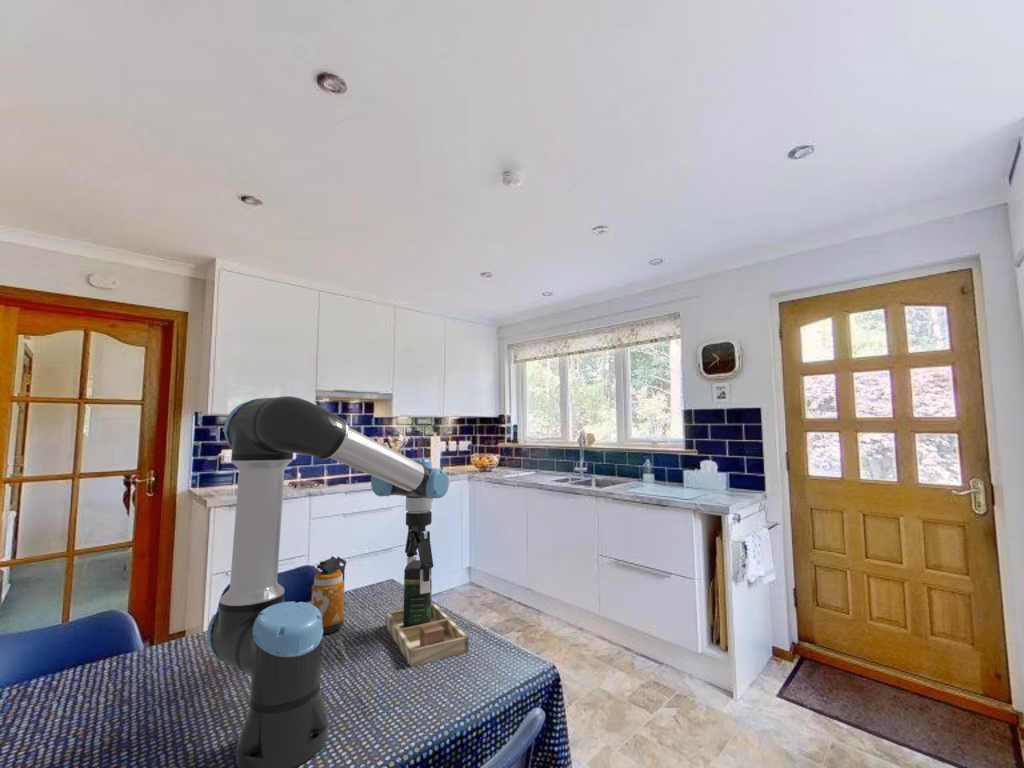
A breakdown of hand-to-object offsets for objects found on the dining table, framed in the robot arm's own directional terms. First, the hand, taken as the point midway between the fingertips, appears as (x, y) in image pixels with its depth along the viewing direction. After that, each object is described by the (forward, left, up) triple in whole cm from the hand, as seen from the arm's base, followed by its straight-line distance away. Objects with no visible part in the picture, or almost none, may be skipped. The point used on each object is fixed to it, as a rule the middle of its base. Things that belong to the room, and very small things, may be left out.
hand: (418, 585), depth 129 cm
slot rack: (-6, 0, -13) cm, 14 cm away
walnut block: (-13, 0, -12) cm, 18 cm away
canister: (+16, +22, -13) cm, 30 cm away
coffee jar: (0, 0, -12) cm, 12 cm away
